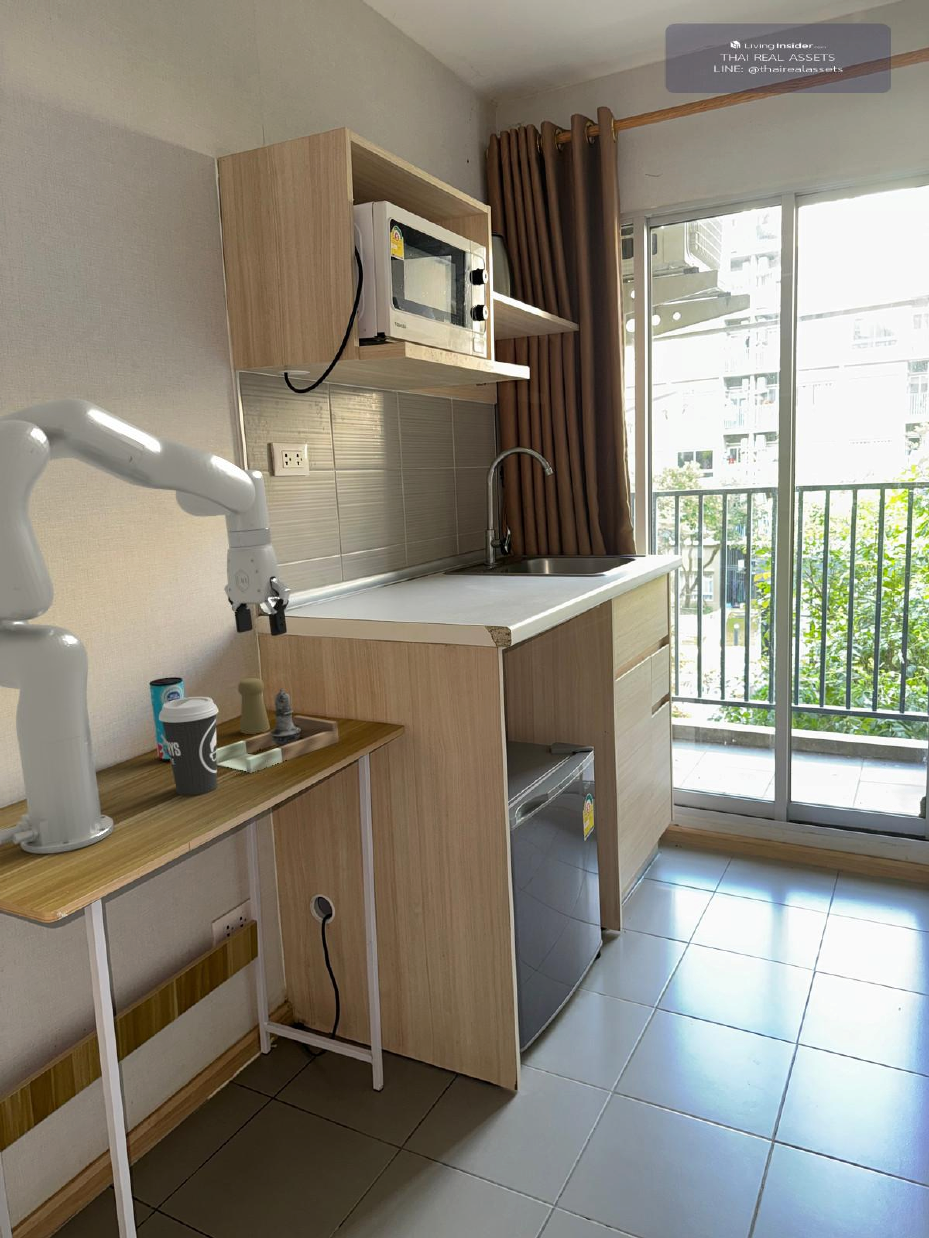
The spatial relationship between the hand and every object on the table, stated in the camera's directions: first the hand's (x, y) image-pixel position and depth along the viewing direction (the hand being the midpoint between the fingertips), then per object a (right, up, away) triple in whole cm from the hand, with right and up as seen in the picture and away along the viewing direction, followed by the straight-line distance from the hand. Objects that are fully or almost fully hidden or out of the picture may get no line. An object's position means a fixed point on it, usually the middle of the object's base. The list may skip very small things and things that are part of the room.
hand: (261, 632), depth 161 cm
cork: (-7, -21, +22) cm, 31 cm away
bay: (+1, -23, +5) cm, 23 cm away
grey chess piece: (+3, -23, +7) cm, 24 cm away
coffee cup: (-8, -26, -13) cm, 30 cm away
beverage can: (-18, -24, +6) cm, 31 cm away
